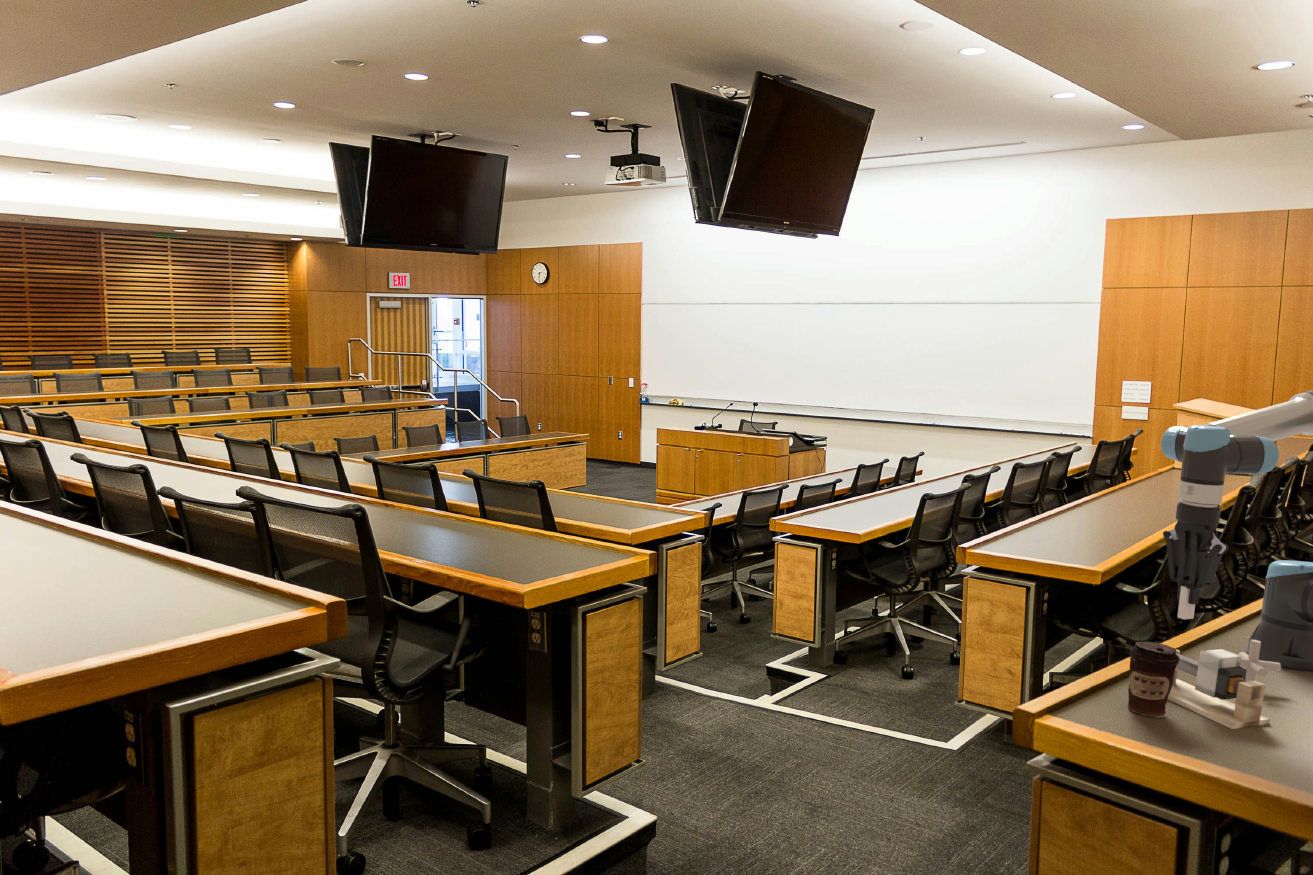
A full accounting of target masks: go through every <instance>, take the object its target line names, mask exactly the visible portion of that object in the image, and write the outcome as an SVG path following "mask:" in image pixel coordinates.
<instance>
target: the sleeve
mask: <svg viewBox="0 0 1313 875" xmlns="http://www.w3.org/2000/svg"><path fill="white" fill-rule="evenodd" d="M1198 662H1199V664H1198V671H1197V677H1196V678H1195V679H1196V680H1195V690H1197V691H1199V692H1202V693H1204V694H1206V695H1209V696H1211V697H1213V698H1215V697H1214V696H1215V689H1216V683H1217V676H1218V669H1219V668H1228V667H1238V666H1239V667H1240V662H1241V656H1239V655H1238V654H1236V653H1234V652H1231V651H1228V650H1226V649H1223V648H1220V649H1208V650H1200V652H1199V658H1198Z"/></svg>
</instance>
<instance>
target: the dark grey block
mask: <svg viewBox="0 0 1313 875" xmlns="http://www.w3.org/2000/svg"><path fill="white" fill-rule="evenodd" d="M1246 673H1247V669H1246V667H1239V666H1238V667H1228V668H1219V669H1218V676H1217V683H1216V689H1215V696H1214V697H1217V698H1219V699H1221V700H1230V699H1231V700H1232V699H1236V698H1237V693H1231V692H1228V690H1227V688H1228V682H1229V676H1234V677H1240V678H1243V679H1244V681H1245V679H1246Z"/></svg>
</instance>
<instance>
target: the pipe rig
mask: <svg viewBox="0 0 1313 875" xmlns="http://www.w3.org/2000/svg"><path fill="white" fill-rule="evenodd" d="M1175 649H1176V650H1177V651H1176V655H1178V656H1179V658H1180V659H1179V663H1178V665H1177V666H1176V668H1175V673H1174V679H1173V684H1172V688H1171V691H1170V693H1169V695H1168V699H1167V701H1170V702H1172V703H1174V704H1177V705H1179V706H1180V707H1183V708H1185V709H1188V710H1189V711H1192V712H1194V713H1197V714H1198V715H1200V716H1203V717H1205V718H1207V719H1209V720H1211V721H1214V722H1216V723H1218V724H1220V725H1222V726H1224V727H1227V728H1229V729H1231V730H1234V729H1235V730H1236V729H1237V730H1238V729H1242V728H1243V729H1244V728H1251V727H1258V726H1266V725H1269V724H1270V720H1271V719H1270V718H1269V717H1267V716H1264V715H1262V710H1263V708H1262V707H1263V703H1264V696H1265V689H1266V684H1264V683H1262V682H1259V681H1257V680H1255V681H1248V682H1247V681H1244V679H1243V678H1240V677H1234V676H1229V682H1228V688H1227V690H1228V692H1231V693H1237V698H1235V699H1236V700H1235V702H1232V701H1229V700H1228V699H1225V700H1221V699H1219V698H1217V697H1215V698H1213V697H1211V696H1209V695H1206V694H1204V693H1202V692H1199V691H1197V690H1195V686H1194V685H1192V684H1190V683H1187V682H1185V681H1183V680H1181V679H1179V678H1177V676H1178V670H1180V671H1183V673H1184V672H1185V673H1187V674H1189V675H1192V676H1194V677H1196V678H1197V671H1198V664H1199V661H1197V660H1195V659H1192V658H1189V657H1187V656H1184V655H1183V654H1181V650H1179V649H1177V648H1175Z"/></svg>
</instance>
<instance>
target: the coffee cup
mask: <svg viewBox="0 0 1313 875" xmlns="http://www.w3.org/2000/svg"><path fill="white" fill-rule="evenodd" d="M1134 644H1135V645H1134V646H1132V647H1131V648H1130V651H1129V656H1130V657H1129V659H1130V660H1129V673H1128V675H1129V676H1128V677H1129V679H1128V680H1129V683H1128V688H1127V689H1128V690H1127V692H1128V693H1127V694H1128V703H1127V708H1128V709H1129V710H1130V711H1132V712H1134V713H1136V714H1139V715H1142V716H1146V717H1151V718H1152V717H1153V718H1164V717H1166V714H1167V713H1166V704H1167V702H1168V695H1169V693H1170V691H1171V688H1172V684H1173V679H1174V673H1175V668H1176V666H1177V665H1178V663H1179V659H1180V658H1179V656H1178V655H1176V651H1177V650H1178V649H1177V648H1175V647H1172V646H1169V645H1167V644H1163V643H1159V642H1154V641H1153V642H1150V641H1136V642H1135V643H1134ZM1176 649H1177V650H1176Z"/></svg>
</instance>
